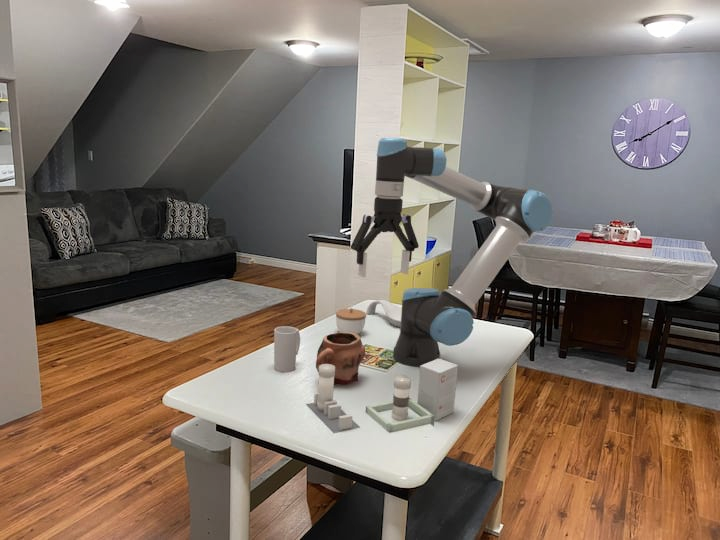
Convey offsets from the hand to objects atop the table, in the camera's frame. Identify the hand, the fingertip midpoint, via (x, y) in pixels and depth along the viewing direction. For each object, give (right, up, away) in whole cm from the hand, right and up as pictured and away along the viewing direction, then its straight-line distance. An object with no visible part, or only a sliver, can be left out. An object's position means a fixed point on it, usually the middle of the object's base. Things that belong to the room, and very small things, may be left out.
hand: (383, 274), depth 156 cm
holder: (-13, -35, -17) cm, 42 cm away
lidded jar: (-10, -22, +48) cm, 54 cm away
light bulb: (+3, -36, -16) cm, 39 cm away
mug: (-28, -28, +15) cm, 42 cm away
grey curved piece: (+5, -19, +66) cm, 69 cm away
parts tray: (+3, -36, -16) cm, 40 cm away
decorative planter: (-13, -31, +4) cm, 34 cm away
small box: (+13, -36, -10) cm, 39 cm away
